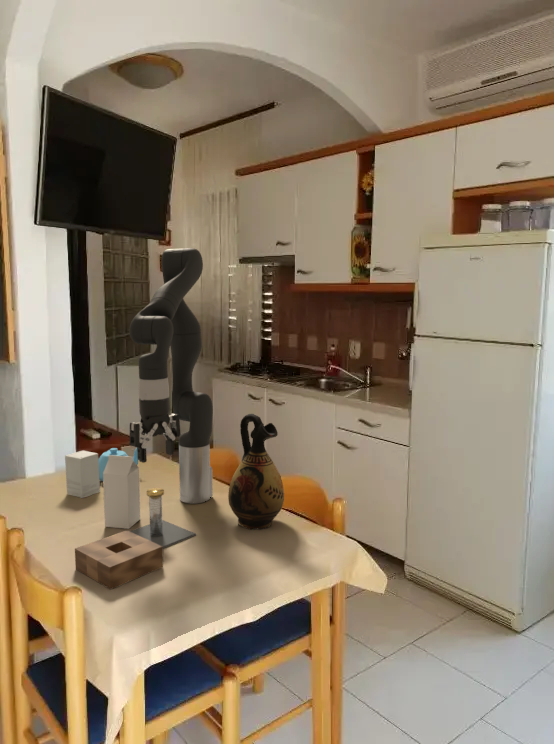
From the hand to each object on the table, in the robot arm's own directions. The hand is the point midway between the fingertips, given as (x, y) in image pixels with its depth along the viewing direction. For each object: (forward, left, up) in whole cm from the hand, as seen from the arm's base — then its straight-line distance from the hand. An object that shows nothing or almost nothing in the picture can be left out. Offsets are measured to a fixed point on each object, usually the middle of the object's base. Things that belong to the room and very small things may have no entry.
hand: (156, 458), depth 152 cm
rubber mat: (0, 0, -21) cm, 21 cm away
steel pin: (0, 0, -20) cm, 20 cm away
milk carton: (+1, -14, -21) cm, 26 cm away
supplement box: (-5, -44, -21) cm, 49 cm away
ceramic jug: (-24, +12, -21) cm, 34 cm away
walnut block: (+17, +8, -21) cm, 28 cm away
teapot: (-20, -49, -21) cm, 57 cm away
